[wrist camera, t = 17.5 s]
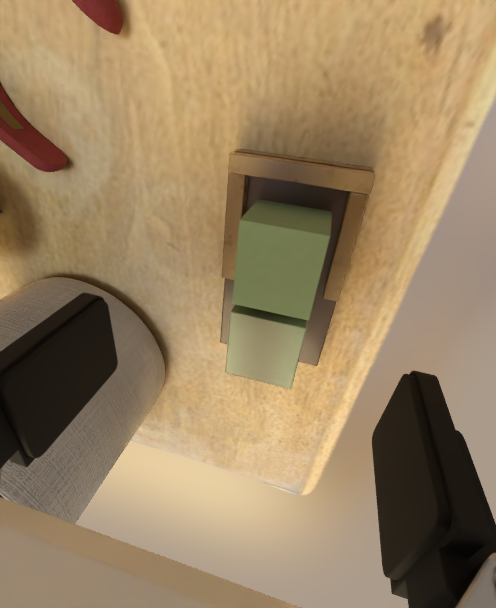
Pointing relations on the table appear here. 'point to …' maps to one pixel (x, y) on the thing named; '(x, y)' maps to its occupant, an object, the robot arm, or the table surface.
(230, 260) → the brown wooden rectangular tray
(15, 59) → the table surface
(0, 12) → the table surface
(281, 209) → the block
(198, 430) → the table surface
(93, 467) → the planter
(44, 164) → the pliers
